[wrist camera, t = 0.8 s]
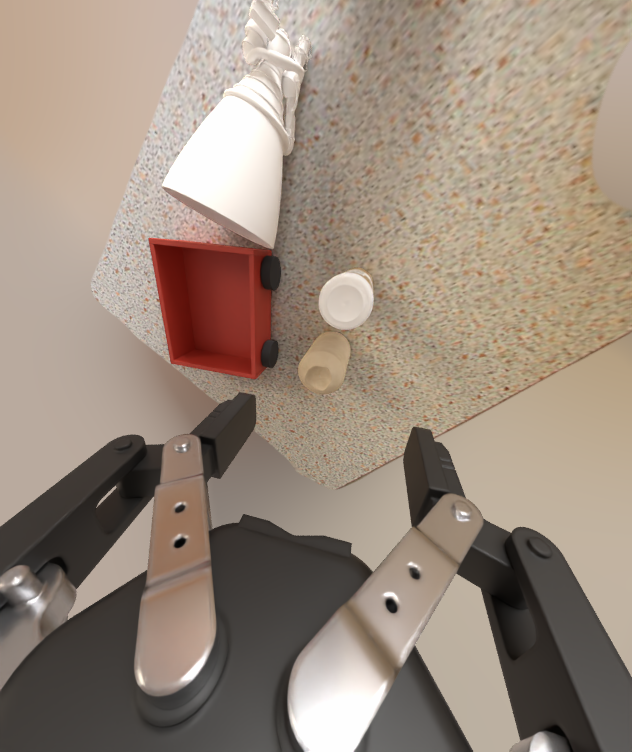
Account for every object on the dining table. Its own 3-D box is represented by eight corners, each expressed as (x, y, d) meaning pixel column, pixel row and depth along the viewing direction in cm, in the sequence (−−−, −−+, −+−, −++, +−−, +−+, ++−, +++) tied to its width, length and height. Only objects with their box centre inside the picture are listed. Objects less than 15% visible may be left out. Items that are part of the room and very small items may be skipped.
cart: (180, 240, 35) (148, 237, 30) (271, 250, 33) (253, 249, 28) (194, 350, 42) (170, 363, 37) (270, 364, 40) (255, 379, 35)
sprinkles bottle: (371, 305, 33) (369, 333, 21) (336, 303, 34) (316, 329, 22) (376, 267, 31) (377, 275, 19) (339, 265, 32) (318, 272, 20)
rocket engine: (251, -156, 14) (165, 181, 19) (374, 48, 22) (289, 254, 27) (211, -20, 23) (158, 190, 28) (309, 93, 30) (254, 244, 35)
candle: (353, 364, 37) (347, 398, 28) (317, 368, 38) (301, 402, 30) (347, 327, 35) (338, 352, 26) (309, 334, 36) (289, 359, 28)
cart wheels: (172, 244, 35) (150, 242, 31) (281, 256, 33) (270, 256, 29) (187, 346, 42) (169, 354, 38) (278, 362, 39) (268, 372, 36)
